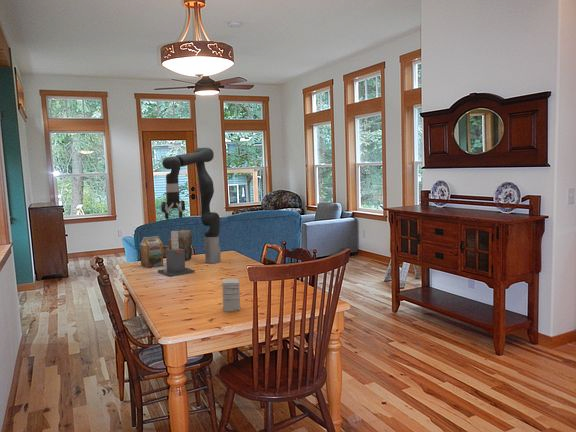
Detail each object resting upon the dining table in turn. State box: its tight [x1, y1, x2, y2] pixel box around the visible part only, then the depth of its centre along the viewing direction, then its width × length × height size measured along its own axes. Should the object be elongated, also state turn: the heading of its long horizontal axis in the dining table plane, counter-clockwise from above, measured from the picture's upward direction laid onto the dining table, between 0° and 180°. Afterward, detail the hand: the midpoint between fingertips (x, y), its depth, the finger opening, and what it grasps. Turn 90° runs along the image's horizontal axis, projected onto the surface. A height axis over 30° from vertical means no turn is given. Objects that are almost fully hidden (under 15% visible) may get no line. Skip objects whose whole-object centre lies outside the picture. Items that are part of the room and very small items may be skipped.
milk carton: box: [139, 235, 164, 269], centre depth 308 cm, size 10×11×19 cm
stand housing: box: [157, 248, 196, 278], centre depth 286 cm, size 16×16×14 cm
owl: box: [177, 229, 193, 262], centre depth 330 cm, size 13×13×20 cm
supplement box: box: [221, 278, 241, 312], centre depth 209 cm, size 7×7×13 cm
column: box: [170, 230, 179, 250], centre depth 285 cm, size 3×3×18 cm
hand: (173, 218), depth 284 cm, fingers open, 8 cm apart
